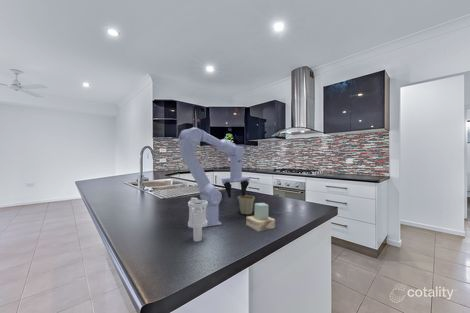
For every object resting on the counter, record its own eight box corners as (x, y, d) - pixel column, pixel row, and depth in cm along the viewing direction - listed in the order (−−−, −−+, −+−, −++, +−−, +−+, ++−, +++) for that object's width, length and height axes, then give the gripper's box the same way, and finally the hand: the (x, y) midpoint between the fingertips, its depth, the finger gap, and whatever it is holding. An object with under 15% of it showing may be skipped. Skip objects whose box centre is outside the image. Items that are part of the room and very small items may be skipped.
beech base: (258, 232, 82) (258, 222, 81) (246, 225, 89) (246, 216, 89) (275, 228, 86) (275, 219, 86) (262, 222, 94) (262, 214, 94)
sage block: (259, 219, 85) (259, 205, 85) (254, 216, 89) (254, 203, 89) (268, 218, 87) (268, 205, 87) (263, 215, 91) (263, 202, 91)
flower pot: (248, 216, 102) (248, 199, 102) (234, 213, 107) (234, 197, 107) (258, 212, 109) (258, 196, 109) (244, 209, 115) (244, 194, 115)
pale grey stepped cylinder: (198, 234, 78) (199, 196, 78) (211, 239, 74) (211, 198, 74) (183, 240, 73) (184, 198, 73) (196, 245, 68) (196, 201, 68)
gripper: (225, 170, 93) (226, 199, 93) (252, 169, 99) (252, 196, 100) (220, 169, 99) (220, 196, 100) (245, 168, 106) (246, 194, 106)
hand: (236, 196), depth 100 cm, fingers open, 7 cm apart
